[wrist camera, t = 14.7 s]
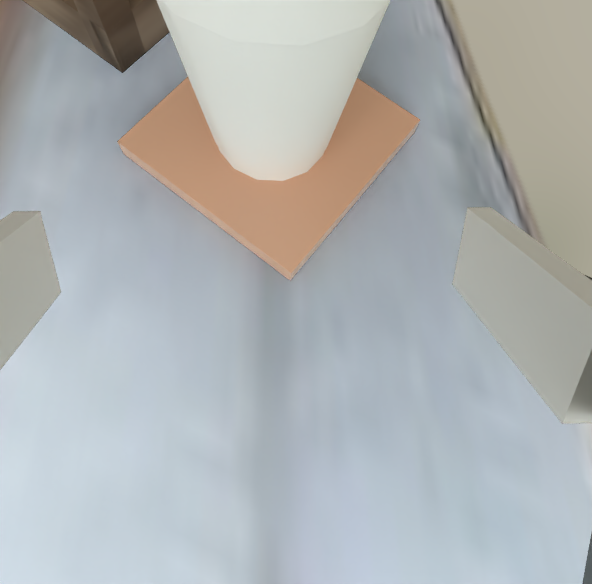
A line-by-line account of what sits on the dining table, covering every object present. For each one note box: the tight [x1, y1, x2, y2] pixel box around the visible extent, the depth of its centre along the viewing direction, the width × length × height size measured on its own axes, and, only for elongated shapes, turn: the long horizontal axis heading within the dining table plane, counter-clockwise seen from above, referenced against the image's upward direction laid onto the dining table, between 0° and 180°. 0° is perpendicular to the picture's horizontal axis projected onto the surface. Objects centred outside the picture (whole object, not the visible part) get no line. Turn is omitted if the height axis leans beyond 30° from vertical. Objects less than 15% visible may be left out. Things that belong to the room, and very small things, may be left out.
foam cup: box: [156, 0, 390, 181], centre depth 20 cm, size 10×9×13 cm
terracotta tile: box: [117, 77, 420, 281], centre depth 26 cm, size 12×12×1 cm
